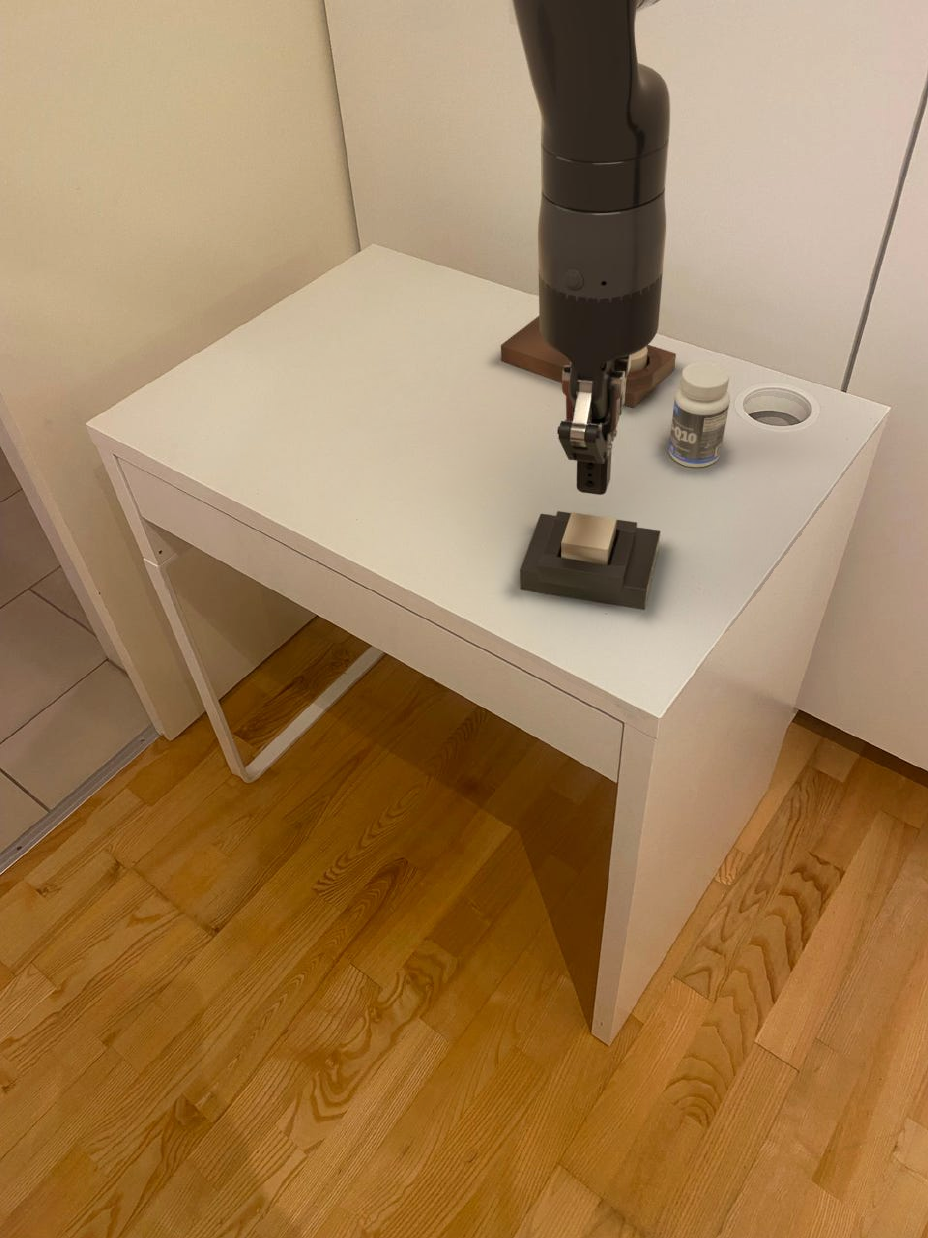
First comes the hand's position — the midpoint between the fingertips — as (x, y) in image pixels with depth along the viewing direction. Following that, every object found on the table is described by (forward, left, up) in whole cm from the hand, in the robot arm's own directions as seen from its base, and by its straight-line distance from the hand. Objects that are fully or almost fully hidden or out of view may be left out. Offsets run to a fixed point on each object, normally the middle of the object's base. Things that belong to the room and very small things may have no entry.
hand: (593, 487), depth 70 cm
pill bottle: (-6, -18, -10) cm, 22 cm away
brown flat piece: (+7, -31, -10) cm, 33 cm away
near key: (0, 0, -6) cm, 6 cm away
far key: (+2, -27, -6) cm, 28 cm away
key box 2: (0, -1, -10) cm, 10 cm away
